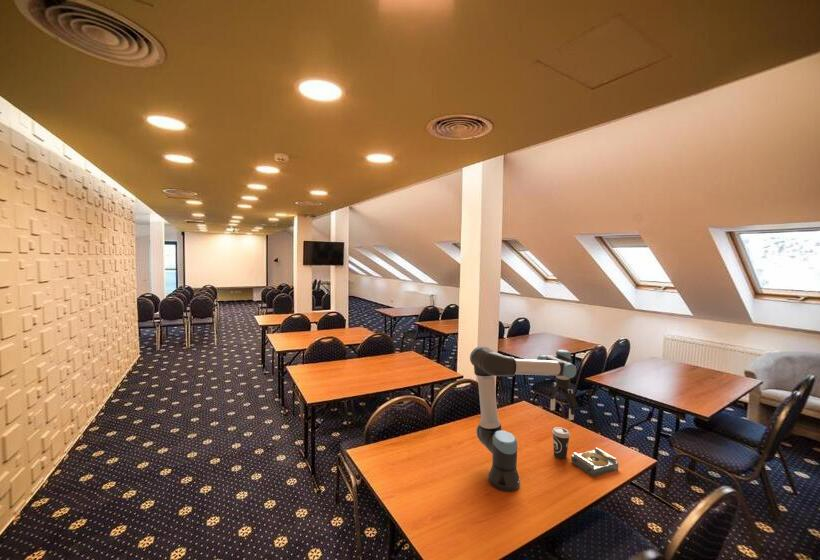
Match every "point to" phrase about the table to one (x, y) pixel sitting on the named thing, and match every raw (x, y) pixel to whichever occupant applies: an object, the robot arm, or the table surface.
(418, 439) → the table surface
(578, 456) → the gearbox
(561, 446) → the coffee cup
